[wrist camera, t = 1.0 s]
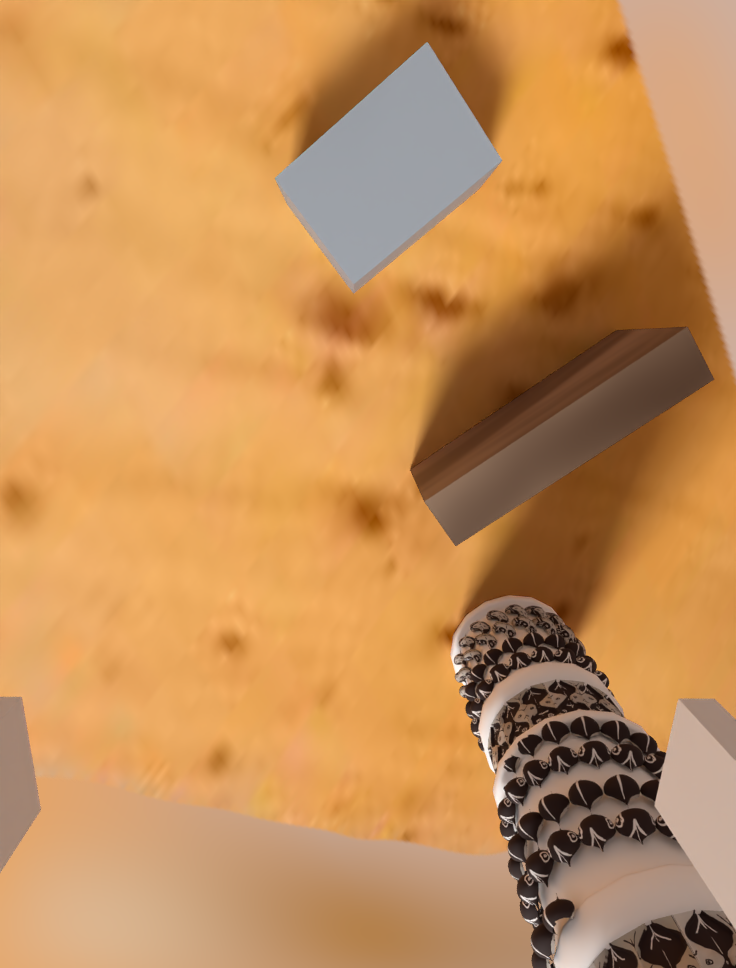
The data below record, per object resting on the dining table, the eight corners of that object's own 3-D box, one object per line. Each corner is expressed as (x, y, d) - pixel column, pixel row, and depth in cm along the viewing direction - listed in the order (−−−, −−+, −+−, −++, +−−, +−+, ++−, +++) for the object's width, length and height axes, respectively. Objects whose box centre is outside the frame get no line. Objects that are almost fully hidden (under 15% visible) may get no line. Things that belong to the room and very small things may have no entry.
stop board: (410, 469, 34) (424, 501, 27) (616, 330, 32) (687, 326, 25) (435, 506, 34) (455, 546, 28) (638, 371, 32) (714, 379, 26)
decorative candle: (511, 726, 39) (770, 1353, 15) (418, 657, 37) (538, 1239, 13) (600, 641, 37) (1056, 1190, 13) (507, 565, 36) (832, 1034, 11)
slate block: (287, 205, 30) (274, 178, 25) (414, 93, 28) (427, 41, 24) (353, 293, 31) (353, 284, 26) (477, 190, 30) (502, 160, 25)
